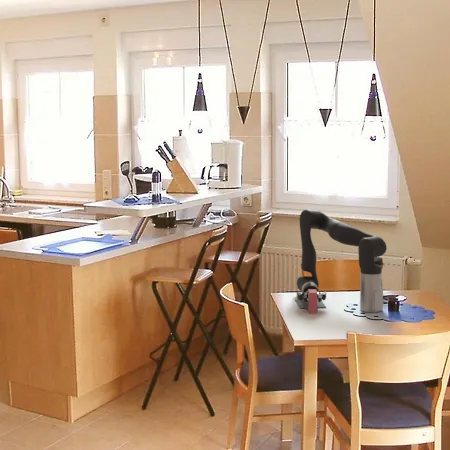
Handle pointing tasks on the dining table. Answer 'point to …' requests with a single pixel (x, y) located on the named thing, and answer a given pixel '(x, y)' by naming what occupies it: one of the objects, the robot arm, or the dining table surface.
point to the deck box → (312, 301)
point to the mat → (305, 304)
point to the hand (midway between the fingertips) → (313, 299)
